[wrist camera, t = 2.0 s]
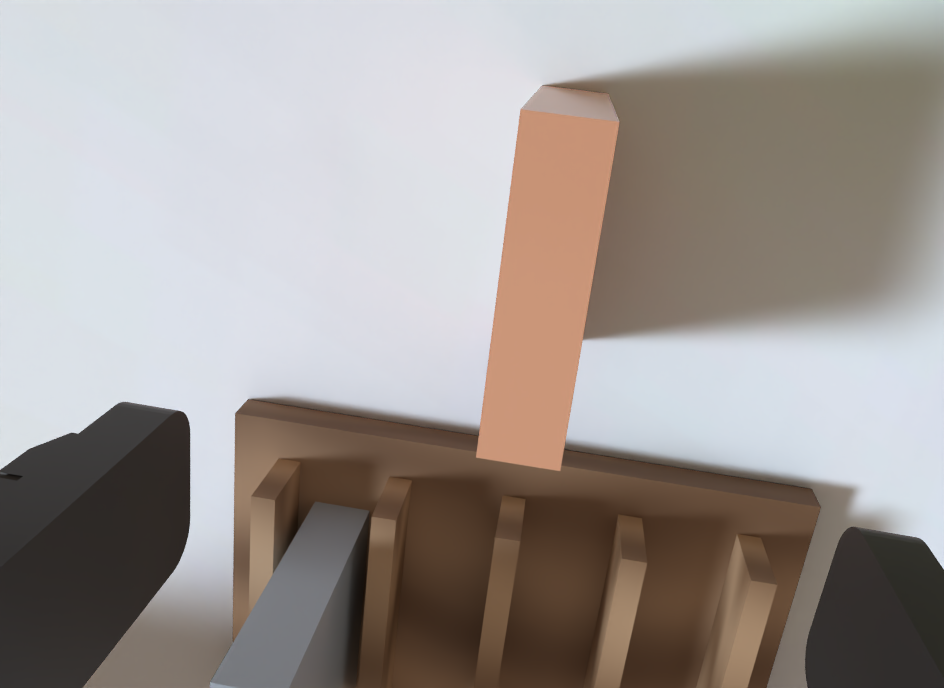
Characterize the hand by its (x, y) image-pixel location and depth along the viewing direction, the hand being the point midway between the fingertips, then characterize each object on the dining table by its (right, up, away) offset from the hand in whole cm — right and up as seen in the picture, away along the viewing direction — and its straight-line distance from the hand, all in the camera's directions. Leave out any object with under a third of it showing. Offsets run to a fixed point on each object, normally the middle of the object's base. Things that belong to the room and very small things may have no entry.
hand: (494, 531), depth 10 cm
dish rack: (+1, -8, +22) cm, 23 cm away
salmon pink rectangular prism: (+2, +6, +16) cm, 18 cm away
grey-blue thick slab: (-5, -7, +21) cm, 23 cm away
